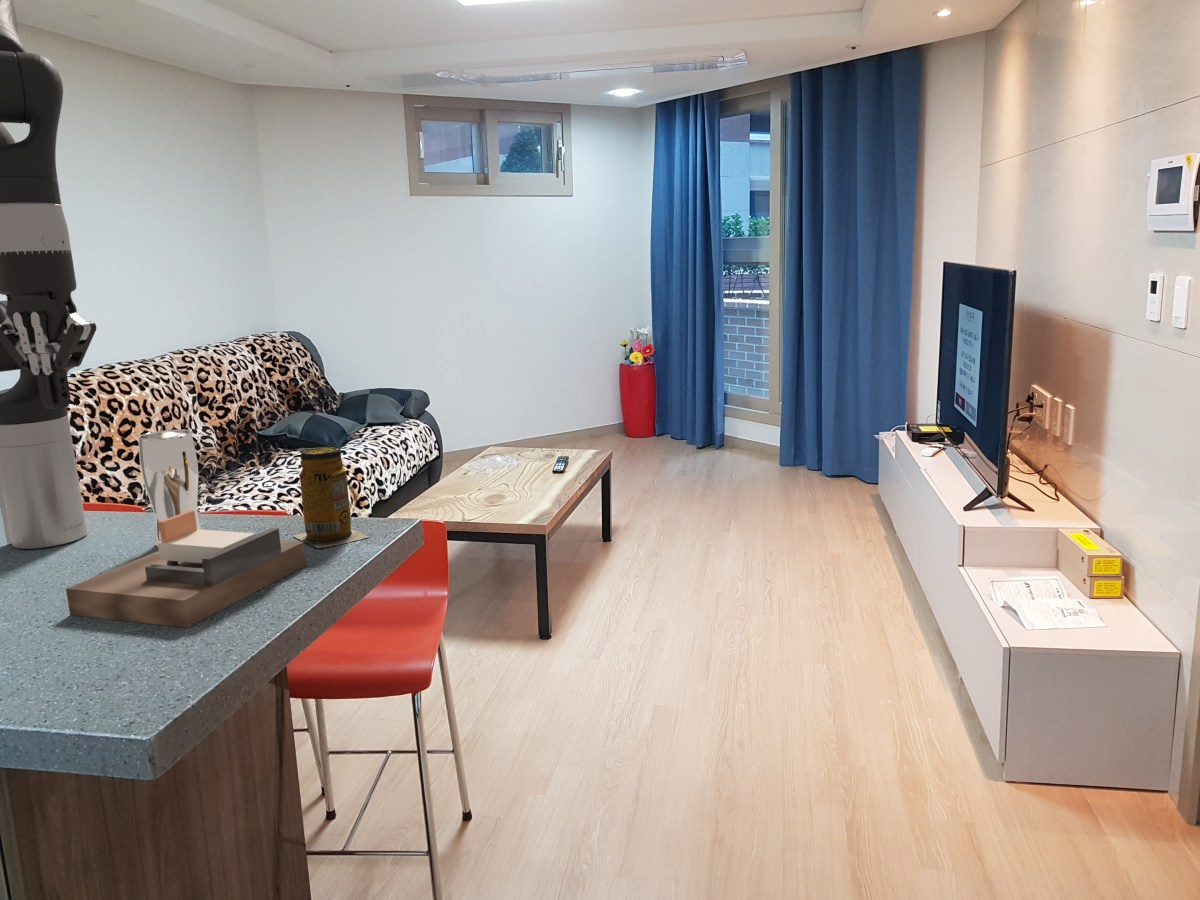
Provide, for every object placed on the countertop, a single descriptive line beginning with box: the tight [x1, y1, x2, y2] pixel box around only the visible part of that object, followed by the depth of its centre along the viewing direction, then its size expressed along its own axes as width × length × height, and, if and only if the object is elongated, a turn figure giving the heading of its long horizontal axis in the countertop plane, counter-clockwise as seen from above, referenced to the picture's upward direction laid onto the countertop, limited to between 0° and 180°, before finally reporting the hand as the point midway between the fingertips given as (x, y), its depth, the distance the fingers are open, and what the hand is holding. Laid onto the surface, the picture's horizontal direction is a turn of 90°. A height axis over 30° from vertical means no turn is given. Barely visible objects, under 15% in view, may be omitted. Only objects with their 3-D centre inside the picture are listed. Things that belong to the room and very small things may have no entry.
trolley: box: [157, 510, 257, 566], centre depth 107 cm, size 9×6×6 cm, turn 71°
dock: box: [65, 527, 307, 629], centre depth 108 cm, size 16×20×6 cm
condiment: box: [292, 446, 370, 549], centre depth 126 cm, size 7×8×12 cm
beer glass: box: [137, 429, 203, 548], centre depth 126 cm, size 7×7×15 cm
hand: (56, 407), depth 105 cm, fingers closed
